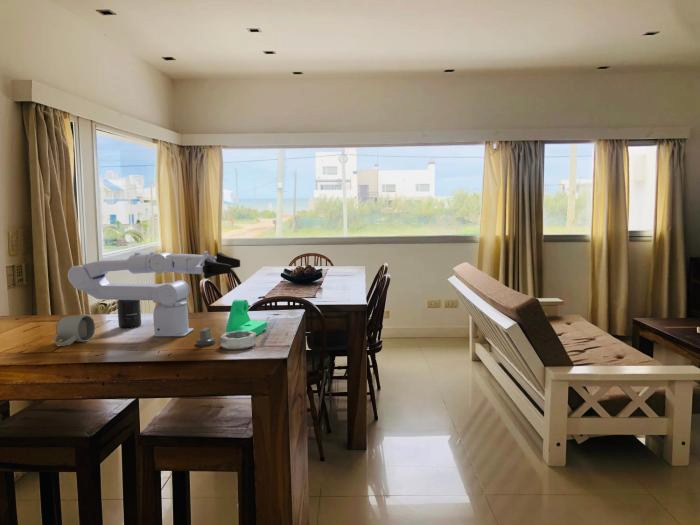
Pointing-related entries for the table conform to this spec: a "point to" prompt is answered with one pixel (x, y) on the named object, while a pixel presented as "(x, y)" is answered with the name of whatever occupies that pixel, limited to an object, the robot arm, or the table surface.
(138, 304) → the supplement bottle
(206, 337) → the cap
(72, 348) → the table surface
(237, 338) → the white ring bowl
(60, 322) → the ceramic mug
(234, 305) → the camera mount
